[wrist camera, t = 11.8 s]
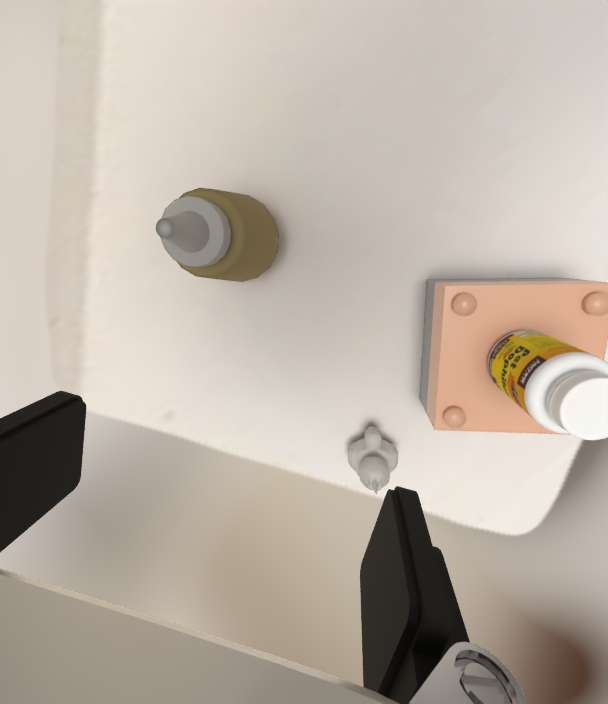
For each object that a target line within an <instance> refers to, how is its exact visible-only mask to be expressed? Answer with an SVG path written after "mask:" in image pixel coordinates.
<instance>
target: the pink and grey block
mask: <svg viewBox="0 0 608 704" xmlns="http://www.w3.org/2000/svg"><path fill="white" fill-rule="evenodd" d="M521 330H532V331H537V332H540V333H543V334H545V335H548V336H550V337H552V338H555V339H557V340H560V341H562V342H564V343H567V344H569V345H571V346H574V347H576V348H578V349H581V350H583V351H586V352H588V353H590V354H593V355H595V356H597V357H599V358H601V359H603V360H604V356H605V351H606V346H607V340H608V283H607V282H597V281H588V280H579V279H569V278H523V279H451V280H427V286H426V302H425V318H424V335H423V351H422V367H421V383H420V401H421V403H422V405H423V407H424V409H425V411H426V413H427V415H428V417H429V419H430V421H431V423H432V426H433V428H434V430H451V431H480V432H509V433H539V434H563V433H557V432H553V431H550V430H548V429H546V428H544V427H542V426H541V425H540V424H538V423H537V422H536V421H535V420H534V419H533V418H531V417H530V416H529V415H528V414H527V413H526V412H525V411H524V410H523V409H522V408H521V407H519V406H518V405H517V404H516V403H515V402H514V401H513V400H512V399H511V398H510V397H509V396H507V395H506V394H505V393H504V392H503V391H502V390H501V389H500V388H499V387H498V386H497V385H496V384H495V383H494V382H493V380H492V379H491V377H490V374H489V371H488V358H489V355H490V352H491V350H492V348H493V347H494V346H495V344H496V343H497V342H498V341H499V340H500V339H502V338H503V337H505V336H506V335H508V334H510V333H513V332H516V331H521ZM568 435H572V434H568Z"/></svg>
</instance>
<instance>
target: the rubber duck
mask: <svg viewBox="0 0 608 704" xmlns="http://www.w3.org/2000/svg"><path fill="white" fill-rule="evenodd" d="M348 462H349V464H350V466H351V467H352V468H353V469H354V470H355V471H356V472H357V474H358V476H360V480H361V482H362V483H363V484H364V485H365V486H366V487H367V488H368V489H370V490H374V491H375V493H376V494H377V491H378V490H381V489H382V487H384V486H385V485H387V483H388V482H389V478H390V472H391V471H393V470H394V469H395V468H396V466H397V464H398V452H397V449H396V447H395V446H394V445H393V444H391V443H388V442H387V441H386V440H384V439H382V437H381V434H380V432H379V430H378V429H377V428H376V427H369V428H368V429H367V430H366V431H365V438H362V439H360V440H358V441H357V442H354V443H352V444H351V445H350V446H349V450H348Z"/></svg>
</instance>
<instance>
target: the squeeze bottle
mask: <svg viewBox="0 0 608 704" xmlns="http://www.w3.org/2000/svg"><path fill="white" fill-rule="evenodd" d="M156 231H157V233H158V235H159V236H160V237H161V240H162V243H163V245H164V248H165V250H166V251H167V252H168V253H169V255H170V256H171V257H172V258H173V259H174V260H176V261H177V263H178V264H179V265H180V266H181V268H183V269H184V270H186V271H188V272H190V273H191V274H193V275H195V276H198V277H205V278H213V279H222V280H231V281H241V282H243V281H246V280H250V279H254V278H257V277H258V276H260V275H261V274H262V273H263V272H264V271H266V270H267V269H268V268H269V267H270V265H271V264H272V262H273V260H274V258H275V256H276V254H277V249H278V239H279V234H278V230H277V227H276V223H275V220H274V218H273V216H272V215H271V214H270V212H269V211H268V210H267V208H266V207H265V206H264V204H262V203H260V202H259V201H257V200H255V199H254V198H252V197H250V196H248V195H242V194H237V193H231V192H226V191H220V190H214V189H205V188H198V189H195V190H192V191H189V192H186V193H184V194H183V195H182V196H181V197H180V198H179V199H176V200H174V201H173V202H172V203H171V204H170V205H169V206H168V207H167V208H166V209H165V211H164V213H163V216H162V218H161V219H160V220H159V221H158V222H157V225H156Z"/></svg>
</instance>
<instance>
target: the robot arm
mask: <svg viewBox="0 0 608 704" xmlns="http://www.w3.org/2000/svg"><path fill="white" fill-rule="evenodd" d="M85 418H86V404H85V403H84V402H83V400H82V398H81V397H80V396H78V395H74V394H71V393H67V392H64V391H59V392H56V393H54V394H52V395H50V396H47V397H45V398H43V399H41V400H39V401H37V402H35V403H32V404H30V405H28V406H26V407H24V408H22V409H20V410H17V411H16V412H13V413H11V414H9V415H7V416H5V417H3V418H0V552H1V551H2V550H4V549H5V548H6V547H7V546H8V545H9V544H11V543H12V542H13V541H14V540H15V539H16V538H18V537H19V536H20V535H21V534H22V533H24V532H25V531H26V530H27V529H28V528H29V527H31V526H32V525H33V524H34V523H35V522H36V521H37V520H39V519H40V518H41V517H42V516H44V515H45V514H46V513H47V512H48V511H49V510H51V509H52V508H53V507H54V506H55V505H56V504H57V503H59V502H60V501H61V500H62V499H64V498H65V497H66V496H67V495H68V494H69V493H70V492H72V491H73V490H74V489H75V488H76V487H77V485H78V483H79V481H80V478H81V467H82V455H83V442H84V430H85ZM360 588H361V619H362V651H363V681H364V682H363V683H364V687H362V686H359V685H356V684H354V683H351V682H349V681H347V680H344V679H342V678H339V677H336V676H333V675H330V674H327V673H324V672H322V671H318V670H316V669H313V668H310V667H307V666H304V665H301V664H298V663H295V662H292V661H289V660H287V659H284V658H281V657H278V656H275V655H272V654H269V653H266V652H263V651H259V650H256V649H253V648H250V647H247V646H244V645H241V644H238V643H235V642H232V641H228V640H225V639H222V638H219V637H216V636H213V635H210V634H207V633H203V632H200V631H197V630H194V629H191V628H188V627H185V626H182V625H179V624H176V623H172V622H169V621H166V620H163V619H160V618H157V617H153V616H150V615H147V614H144V613H141V612H138V611H134V610H131V609H128V608H125V607H121V606H118V605H115V604H112V603H109V602H106V601H103V600H99V599H96V598H93V597H90V596H87V595H84V594H80V593H77V592H74V591H71V590H68V589H64V588H61V587H58V586H55V585H51V584H48V583H45V582H41V581H39V580H35V579H32V578H29V577H26V576H22V575H19V574H16V573H13V572H9V571H6V570H3V569H0V704H526V701H525V697H524V695H523V693H522V690H521V688H520V686H519V684H518V682H517V681H516V679H515V678H514V676H513V675H512V673H511V672H510V671H509V669H508V668H507V667H506V666H505V665H504V664H503V663H502V662H501V661H500V660H499V659H498V658H497V657H496V656H494V655H493V654H491V653H490V652H489V651H488V650H486V649H484V648H482V647H480V646H478V645H477V644H473V643H470V642H469V638H468V635H467V632H466V628H465V625H464V622H463V619H462V616H461V612H460V609H459V606H458V603H457V600H456V597H455V593H454V590H453V586H452V583H451V580H450V577H449V574H448V570H447V567H446V564H445V561H444V557H443V555H442V552H441V550H440V549H439V548H437V547H433V546H432V543H431V539H430V536H429V532H428V529H427V525H426V522H425V518H424V514H423V511H422V507H421V504H420V500H419V497H418V494H417V492H416V491H412V490H409V489H405V488H402V487H398V486H397V487H396V488H395V489H394V490H390V489H389V490H388V491H387V494H386V496H385V499H384V502H383V505H382V507H381V510H380V513H379V516H378V519H377V521H376V525H375V527H374V530H373V533H372V535H371V538H370V541H369V544H368V546H367V549H366V552H365V555H364V558H363V561H362V565H361V570H360Z"/></svg>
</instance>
